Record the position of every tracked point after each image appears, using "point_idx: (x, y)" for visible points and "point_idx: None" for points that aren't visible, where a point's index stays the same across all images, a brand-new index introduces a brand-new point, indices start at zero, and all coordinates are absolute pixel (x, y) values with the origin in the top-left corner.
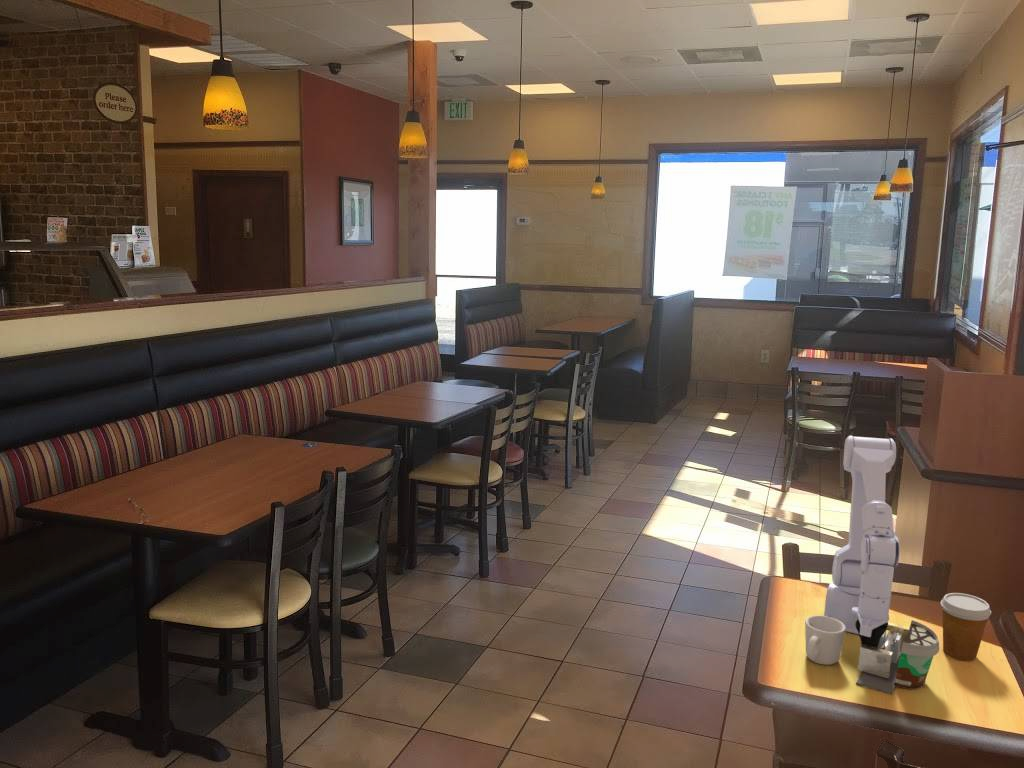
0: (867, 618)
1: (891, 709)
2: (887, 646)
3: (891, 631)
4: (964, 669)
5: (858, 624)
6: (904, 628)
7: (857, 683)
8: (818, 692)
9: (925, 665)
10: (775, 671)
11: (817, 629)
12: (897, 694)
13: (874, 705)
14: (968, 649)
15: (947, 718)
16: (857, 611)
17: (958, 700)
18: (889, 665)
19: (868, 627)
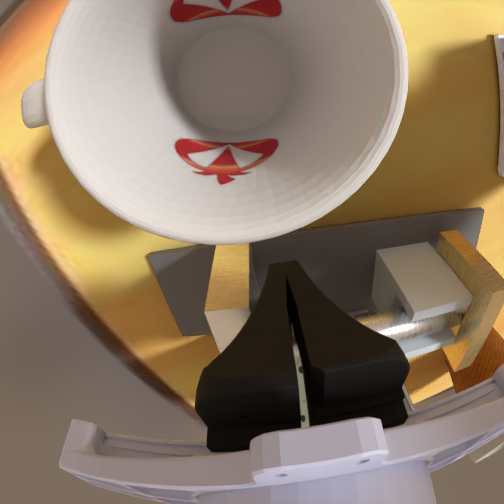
0: (191, 498)
1: (123, 342)
2: None
3: (462, 318)
4: (414, 371)
5: (201, 408)
6: (460, 363)
7: (150, 258)
8: (27, 195)
9: None
10: (27, 42)
11: (46, 88)
12: (199, 339)
13: (102, 315)
14: (453, 383)
15: (193, 401)
16: (260, 486)
17: None
18: None
19: (87, 481)
